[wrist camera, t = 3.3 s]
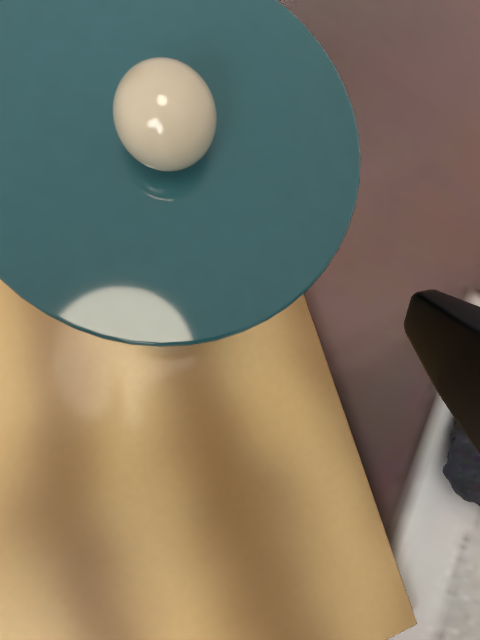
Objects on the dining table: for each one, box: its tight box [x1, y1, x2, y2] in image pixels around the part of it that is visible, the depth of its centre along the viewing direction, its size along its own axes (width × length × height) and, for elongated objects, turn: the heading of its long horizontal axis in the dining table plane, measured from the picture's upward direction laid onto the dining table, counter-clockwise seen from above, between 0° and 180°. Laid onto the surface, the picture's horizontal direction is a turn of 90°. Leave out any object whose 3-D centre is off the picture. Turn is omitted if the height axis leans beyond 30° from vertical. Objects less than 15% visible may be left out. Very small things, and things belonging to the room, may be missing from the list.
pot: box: [0, 0, 361, 352], centre depth 12 cm, size 7×7×13 cm
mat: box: [0, 280, 417, 640], centre depth 17 cm, size 24×24×1 cm
